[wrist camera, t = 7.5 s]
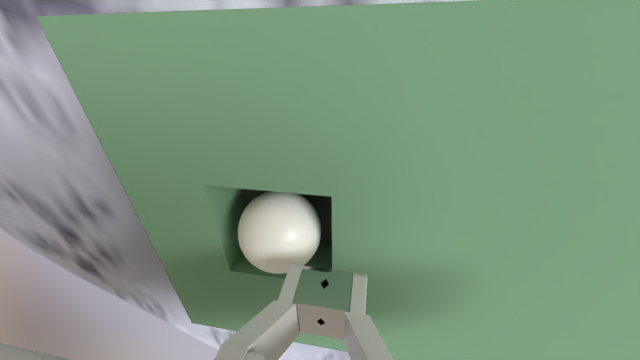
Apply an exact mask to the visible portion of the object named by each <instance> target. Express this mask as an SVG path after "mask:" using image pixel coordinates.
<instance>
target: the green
mask: <svg viewBox="0 0 640 360" xmlns="http://www.w3.org/2000/svg"><path fill="white" fill-rule="evenodd" d="M36 17H37V19H38V21H39V23H40V25H41V27H42V29H43V31H44V33H45V35H46V37H47V39H48V41H49V43H50V45H51V47H52V49H53V51H54V53H55V55H56V57H57V59H58V61H59V62H60V64H61V66H62V68H63V70H64V72H65V74H66V76H67V78H68V80H69V82H70V84H71V86H72V88H73V90H74V92H75V94H76V96H77V98H78V100H79V102H80V104H81V106H82V108H83V110H84V112H85V114H86V116H87V118H88V119H89V121H90V123H91V125H92V127H93V129H94V131H95V133H96V135H97V137H98V139H99V141H100V143H101V145H102V147H103V149H104V151H105V153H106V155H107V157H108V159H109V161H110V163H111V165H112V167H113V169H114V171H115V173H116V175H117V176H118V178H119V180H120V182H121V184H122V186H123V188H124V190H125V192H126V194H127V196H128V198H129V200H130V202H131V204H132V206H133V208H134V210H135V212H136V214H137V216H138V218H139V220H140V222H141V224H142V226H143V228H144V230H145V232H146V233H147V235H148V237H149V239H150V241H151V243H152V245H153V247H154V249H155V251H156V253H157V255H158V257H159V259H160V261H161V263H162V265H163V267H164V269H165V271H166V273H167V275H168V277H169V279H170V281H171V283H172V285H173V287H174V289H175V290H176V292H177V294H178V296H179V298H180V300H181V302H182V304H183V306H184V308H185V310H186V312H187V314H188V316H189V318H190V320H191V322H192V323H195V324H201V325H206V326H211V327H217V328H222V329H227V330H233V331H238V330H240V329H241V328H242V327H243V326H244V325H245V324H247V323H248V322H249V321H250V320H251V319H252V318H254V317H255V316H256V315H257V314H258V313H259V312H261V311H262V310H263V309H264V308H265V307H266V306H268V305H269V304H270V303H271V302H272V301H273V300H276V301H277V300H278V298H279V295H280V292H281V289H282V286H283V284H284V281H285V278H286V275H287V273H282V274H274V273H269V272H265V271H262V270H260V269H258V268H257V267H255V266H254V265H253V264H251V263H250V262H249V261H248V260H247V258H246V257H245V256H244V254H243V252H242V250H241V248H240V245H239V241H238V225H239V221H240V218H241V215H242V213H243V211H244V210H245V208H246V207H247V206H248V204H249V203H250V202H251V201H252V200H254V199H255V198H256V197H258V196H259V195H261V194H263V193H265V192H268V191H273V192H285V193H296V194H300V195H302V196H303V197H305V198H306V199H307V200H308V201H309V202H310V203H311V204H312V205H313V206H314V208H315V209H316V211H317V213H318V216H319V218H320V223H321V239H320V243H319V246H318V248H317V250H316V252H315V254H314V255H313V257H312V258H311V259H310V260H309V261H308V262H307V263H306V264H305V265H303V266H309V267H315V268H321V269H327V270H328V269H332V270H340V271H349V272H353V275H354V273H362V274H367V291H366V310H365V315H369V316H370V318H371V319H372V321H373V323H374V325H375V327H376V328H377V330H378V332H379V334H380V336H381V337H382V339H383V341H384V343H385V345H386V346H387V348H388V350H389V352H390V354H391V355H392V357H393V359H394V360H640V0H485V1H457V2H428V3H400V4H371V5H343V6H314V7H286V8H258V9H229V10H201V11H172V12H144V13H116V14H87V15H59V16H36ZM299 333H300V332H299ZM293 342H297V343H302V344H308V345H313V346H318V347H324V348H329V349H334V350H340V351H345V352H348V351H347V348H346V345H345V343H344V340H340V339H335V338H330V337H325V336H320V335H314V334H307V333H300V334H299V335H298V337H297V338H296V339H295V340H294V341H293Z"/></svg>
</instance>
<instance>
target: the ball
mask: <svg viewBox="0 0 640 360" xmlns="http://www.w3.org/2000/svg"><path fill="white" fill-rule="evenodd" d="M320 239H321V223H320V218H319V216H318V213H317V211H316V209H315V208H314V206H313V205H312V204H311V203H310V202H309V201H308V200H307V199H306V198H305V197H303V196H302V195H300V194H296V193H285V192H273V191H268V192H265V193H263V194H261V195H259V196H258V197H256V198H255V199H254V200H252V201H251V202H250V203H249V204H248V206H247V207H246V208H245V210H244V211H243V213H242V215H241V218H240V221H239V225H238V241H239V245H240V248H241V250H242V252H243V254H244V256H245V257H246V258H247V260H248V261H249V262H250V263H251V264H253V265H254V266H255V267H257V268H258V269H260V270H262V271H265V272H269V273H274V274H282V273H287V272H288V269H289V267H290V266H291V264H295V265H302V266H303V265H305V264H306V263H307V262H308V261H309V260H310V259H311V258H312V257H313V255H314V254H315V252H316V250H317V248H318V246H319V243H320Z"/></svg>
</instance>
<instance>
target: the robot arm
mask: <svg viewBox="0 0 640 360" xmlns="http://www.w3.org/2000/svg"><path fill="white" fill-rule="evenodd" d="M366 291H367V274H362V273H354V275H353V272H349V271H340V270H332V269H328V270H327V269H321V268H315V267H309V266H302V265H295V264H291V266H290V267H289V269H288V272H287V275H286V278H285V281H284V284H283V286H282V289H281V292H280V295H279V298H278V300H277V301H276V300H273V301H272V302H271V303H270V304H269V305H268V306H266V307H265V308H264V309H263V310H262V311H261V312H259V313H258V314H257V315H256V316H255V317H254V318H252V319H251V320H250V321H249V322H248V323H247V324H245V325H244V326H243V327H242V328H241V329H240V330H238V331H237V332H236V333H235V334H234V335H232V336H231V337H230V338H229V339H228V340H227V341H225V342H224V343H223V344H222V345H221V347H220V349H219V351H218V354H217V356H216V358H215V360H278V359H279V358H280V357H281V355H282V354H283V353H284V352H285V351H286V350H287V348H288V347H289V346H290V345H291V344H292V342H293V341H294V340H295V339H296V338H297V337H298V335H299V334H300V333H307V334H314V335H320V336H325V337H330V338H335V339H340V340H344V343H345V345H346V348H347V351H348V353H349V356H350V358H351V360H394V359H393V357H392V355H391V354H390V352H389V350H388V348H387V346H386V345H385V343H384V341H383V339H382V337H381V336H380V334H379V332H378V330H377V328H376V327H375V325H374V323H373V321H372V319H371V318H370V316H369V315H365V310H366ZM299 332H300V333H299ZM0 360H73V359H68V358H64V357H60V356H55V355H51V354H47V353H42V352H38V351H33V350H29V349H25V348H20V347H16V346H12V345H7V344H3V343H0Z"/></svg>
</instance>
